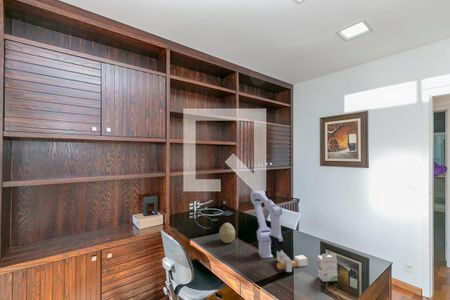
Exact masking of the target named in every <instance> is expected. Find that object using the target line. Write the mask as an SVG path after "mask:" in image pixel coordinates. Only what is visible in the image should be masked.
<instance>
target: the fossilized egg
mask: <svg viewBox="0 0 450 300" xmlns="http://www.w3.org/2000/svg"><path fill="white" fill-rule="evenodd" d="M218 235H219V239H220V240H221V241H222V242H223V243H225V244H228V243H231V242H233V241H234V239H235V237H236V230H235V228H234V226H233V225H232V224H231V223H230V222H225V223H223V224H222V225H221V226H220V228H219V232H218Z"/></svg>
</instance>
